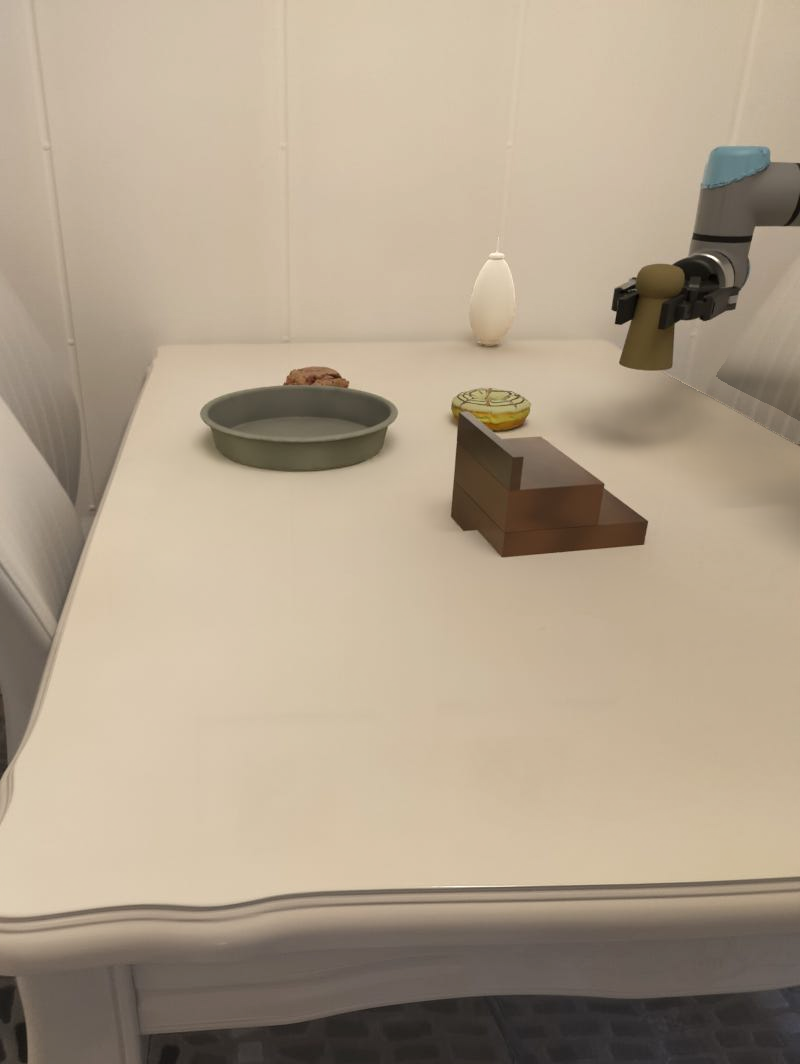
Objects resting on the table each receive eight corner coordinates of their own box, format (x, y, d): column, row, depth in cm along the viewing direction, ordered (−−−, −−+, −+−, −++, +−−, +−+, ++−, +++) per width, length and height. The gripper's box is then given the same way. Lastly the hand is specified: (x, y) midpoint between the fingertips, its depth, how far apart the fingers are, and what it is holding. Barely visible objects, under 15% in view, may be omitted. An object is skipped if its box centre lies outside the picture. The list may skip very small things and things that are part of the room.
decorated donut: (530, 413, 128) (533, 386, 126) (526, 436, 119) (530, 407, 117) (455, 408, 130) (457, 381, 128) (446, 430, 121) (448, 401, 119)
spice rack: (575, 506, 98) (590, 404, 92) (641, 560, 86) (663, 447, 81) (450, 516, 95) (458, 411, 90) (500, 573, 84) (513, 457, 78)
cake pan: (407, 421, 125) (409, 388, 122) (380, 483, 104) (382, 444, 102) (234, 410, 129) (232, 378, 127) (174, 468, 108) (171, 430, 106)
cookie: (334, 379, 145) (334, 359, 143) (357, 396, 136) (357, 375, 134) (273, 383, 142) (273, 364, 140) (293, 401, 133) (292, 380, 132)
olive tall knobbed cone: (611, 366, 107) (627, 265, 102) (628, 356, 112) (644, 259, 106) (663, 373, 104) (682, 270, 99) (678, 362, 109) (697, 263, 103)
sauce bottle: (458, 344, 166) (466, 236, 157) (485, 338, 171) (494, 233, 162) (492, 352, 161) (502, 241, 152) (519, 345, 166) (531, 237, 157)
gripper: (759, 323, 116) (715, 358, 99) (624, 309, 124) (562, 340, 107) (774, 259, 112) (730, 285, 95) (634, 249, 120) (571, 271, 103)
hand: (641, 314), depth 101 cm, fingers closed on olive tall knobbed cone, 4 cm apart
